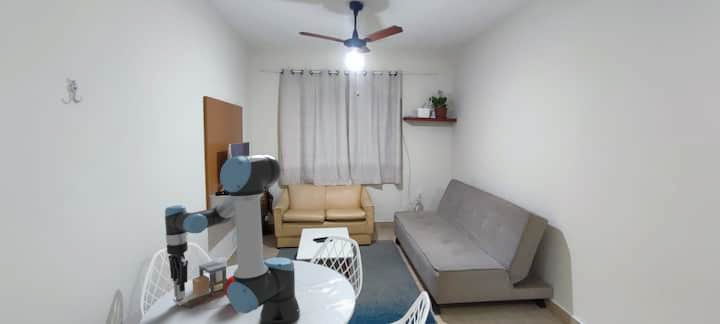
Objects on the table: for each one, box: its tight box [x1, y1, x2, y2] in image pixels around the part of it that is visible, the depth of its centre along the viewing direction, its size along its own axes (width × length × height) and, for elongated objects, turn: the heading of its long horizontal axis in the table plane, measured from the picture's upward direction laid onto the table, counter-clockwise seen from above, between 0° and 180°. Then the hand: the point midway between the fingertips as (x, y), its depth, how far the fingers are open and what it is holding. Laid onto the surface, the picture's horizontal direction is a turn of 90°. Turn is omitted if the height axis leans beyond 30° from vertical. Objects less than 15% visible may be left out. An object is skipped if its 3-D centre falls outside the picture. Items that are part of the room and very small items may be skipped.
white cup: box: [209, 256, 228, 282], centre depth 160 cm, size 8×8×10 cm
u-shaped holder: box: [172, 274, 210, 306], centre depth 138 cm, size 6×14×10 cm, turn 142°
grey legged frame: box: [183, 261, 229, 309], centre depth 144 cm, size 11×22×13 cm, turn 142°
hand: (179, 296), depth 134 cm, fingers closed on u-shaped holder, 3 cm apart
